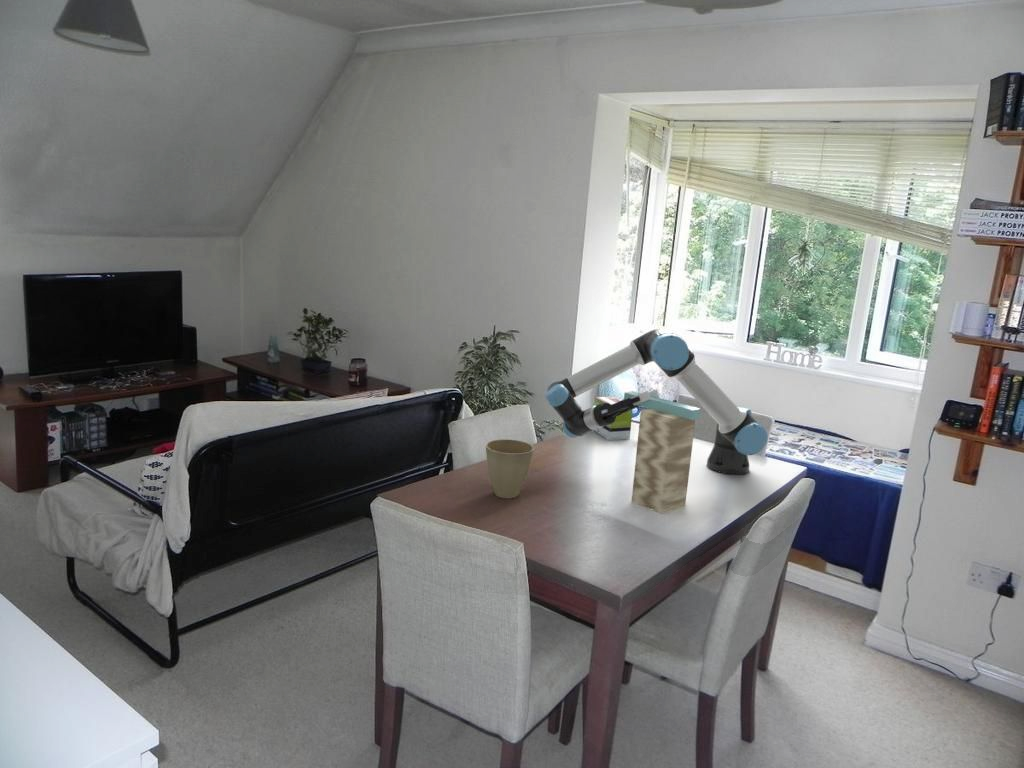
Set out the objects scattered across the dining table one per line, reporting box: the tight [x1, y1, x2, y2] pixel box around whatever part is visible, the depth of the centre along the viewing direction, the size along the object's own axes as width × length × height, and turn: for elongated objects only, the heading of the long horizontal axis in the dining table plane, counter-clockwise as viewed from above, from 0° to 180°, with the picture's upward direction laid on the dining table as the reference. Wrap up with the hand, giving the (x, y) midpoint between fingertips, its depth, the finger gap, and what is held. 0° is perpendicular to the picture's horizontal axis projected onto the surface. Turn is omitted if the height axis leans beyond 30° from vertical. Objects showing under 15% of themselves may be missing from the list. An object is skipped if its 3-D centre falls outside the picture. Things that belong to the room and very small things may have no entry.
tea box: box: [593, 395, 634, 441], centre depth 323 cm, size 15×10×15 cm
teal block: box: [623, 390, 702, 421], centre depth 243 cm, size 26×4×3 cm, turn 43°
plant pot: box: [485, 438, 534, 499], centre depth 245 cm, size 15×15×16 cm
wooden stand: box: [631, 408, 696, 515], centre depth 245 cm, size 12×12×30 cm
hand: (653, 394), depth 245 cm, fingers closed on teal block, 4 cm apart
